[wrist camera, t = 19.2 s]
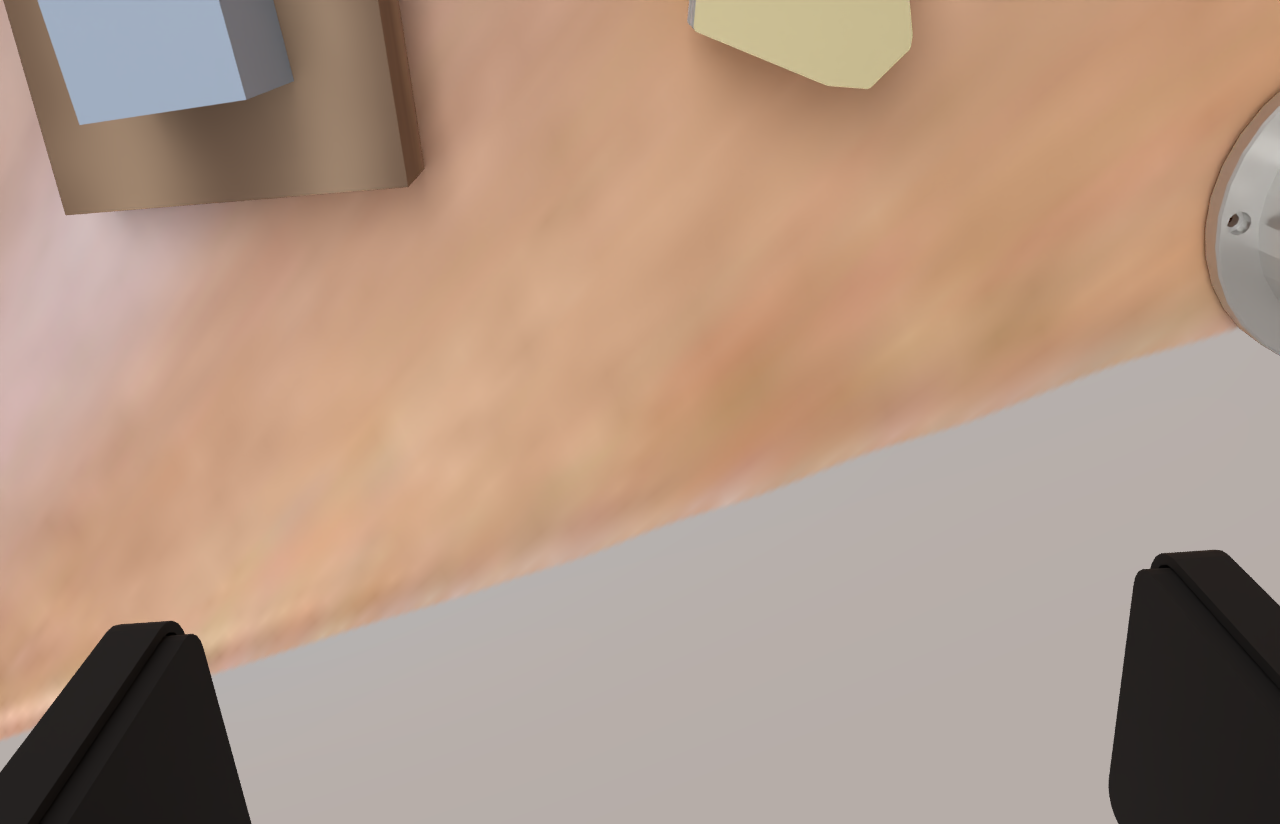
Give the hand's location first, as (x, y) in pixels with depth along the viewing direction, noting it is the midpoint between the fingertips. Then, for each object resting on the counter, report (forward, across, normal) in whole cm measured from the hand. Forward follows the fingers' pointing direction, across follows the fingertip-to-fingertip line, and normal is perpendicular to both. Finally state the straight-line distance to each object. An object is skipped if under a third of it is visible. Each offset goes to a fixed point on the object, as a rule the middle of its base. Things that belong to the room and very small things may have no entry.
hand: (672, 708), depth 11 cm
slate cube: (+29, +14, -6) cm, 33 cm away
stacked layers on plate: (+33, -6, -6) cm, 34 cm away
